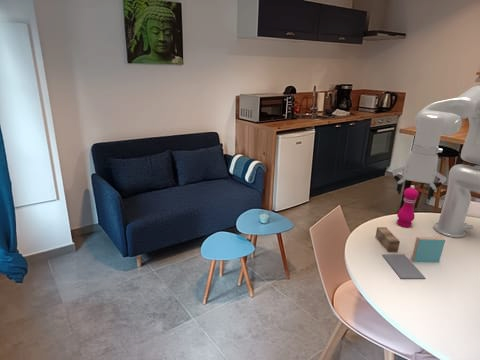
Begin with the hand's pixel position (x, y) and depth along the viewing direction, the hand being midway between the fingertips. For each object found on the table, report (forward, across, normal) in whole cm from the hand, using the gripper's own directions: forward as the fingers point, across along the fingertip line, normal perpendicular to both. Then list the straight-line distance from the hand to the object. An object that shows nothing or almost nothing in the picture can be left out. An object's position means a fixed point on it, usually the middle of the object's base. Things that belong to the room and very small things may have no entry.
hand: (413, 195), depth 119 cm
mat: (+27, -1, +5) cm, 27 cm away
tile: (+27, -10, -4) cm, 29 cm away
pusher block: (+27, +5, -10) cm, 29 cm away
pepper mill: (+27, -2, -34) cm, 43 cm away
